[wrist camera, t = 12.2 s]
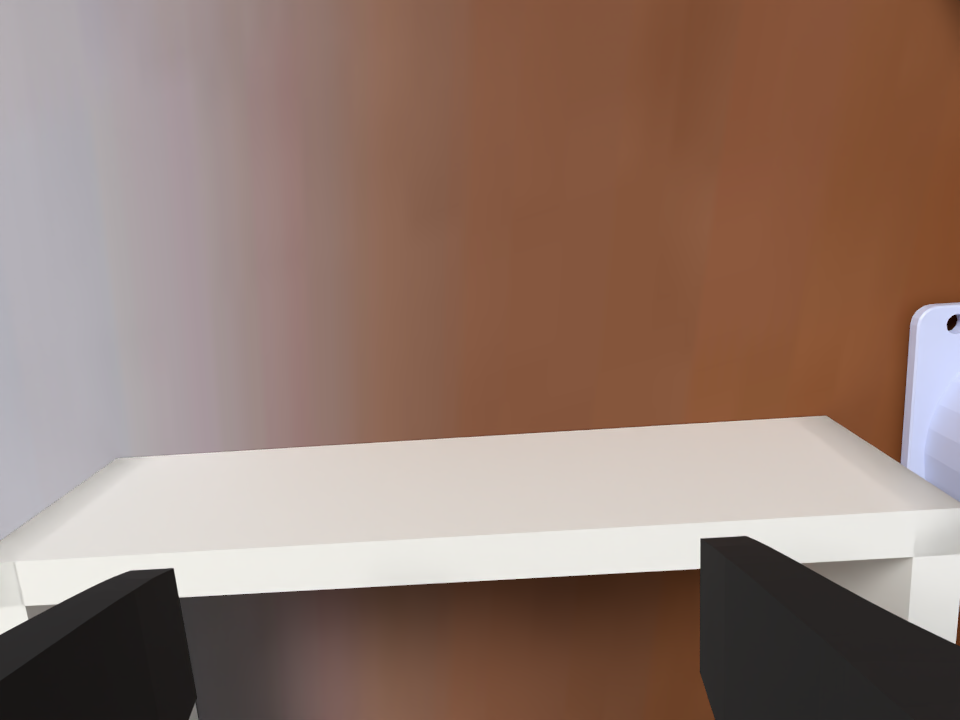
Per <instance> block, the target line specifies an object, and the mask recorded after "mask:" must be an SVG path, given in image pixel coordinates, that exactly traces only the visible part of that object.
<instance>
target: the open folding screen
mask: <svg viewBox="0 0 960 720" xmlns="http://www.w3.org/2000/svg"><path fill="white" fill-rule="evenodd" d="M735 536H748V537H750V538H752V539H755V540H757V541H759V542H761V543H763V544H765V545H767V546H769V547H771V548H773V549H775V550H777V551H779V552H780V553H782V554H784V555H786V556H788V557H790V558H791V559H793V560H795V561H797V562H799V563H800V564H802V565H804V566H806V567H808V568H809V569H811V570H813V571H815V572H817V573H818V574H820V575H822V576H824V577H826V578H827V579H829V580H831V581H833V582H835V583H836V584H838V585H840V586H842V587H844V588H846V589H847V590H849V591H851V592H853V593H855V594H857V595H859V596H860V597H862V598H864V599H866V600H868V601H870V602H872V603H874V604H875V605H877V606H879V607H881V608H883V609H885V610H887V611H889V612H891V613H893V614H895V615H897V616H899V617H901V618H903V619H905V620H907V621H908V622H911V623H913V624H915V625H917V626H919V627H921V628H923V629H925V630H927V631H929V632H931V633H933V634H935V635H938V636H940V637H942V638H944V639H946V640H948V641H950V642H952V643H954V644H956V635H957V624H958V613H959V602H960V502H959V501H957V500H956V499H954V498H953V497H951V496H950V495H948V494H946V493H945V492H943V491H942V490H940V489H939V488H937V487H936V486H934V485H933V484H931V483H929V482H928V481H926V480H925V479H923V478H922V477H920V476H919V475H917V474H916V473H914V472H912V471H911V470H909V469H908V468H906V467H905V466H903V465H902V464H900V463H899V462H897V461H895V460H894V459H892V458H891V457H889V456H888V455H886V454H885V453H883V452H881V451H880V450H878V449H877V448H875V447H874V446H872V445H871V444H869V443H868V442H866V441H864V440H863V439H861V438H860V437H858V436H857V435H855V434H854V433H852V432H851V431H849V430H847V429H846V428H844V427H843V426H841V425H840V424H838V423H837V422H835V421H834V420H832V419H830V418H829V417H827V416H813V417H796V418H780V419H763V420H746V421H730V422H713V423H696V424H680V425H663V426H647V427H630V428H613V429H597V430H580V431H563V432H547V433H530V434H514V435H497V436H480V437H464V438H447V439H430V440H414V441H397V442H380V443H364V444H347V445H331V446H314V447H297V448H281V449H264V450H247V451H231V452H214V453H198V454H181V455H164V456H148V457H131V458H116V459H115V460H114V461H112V462H111V463H109V464H108V465H106V466H105V467H104V468H102V469H101V470H99V471H98V472H97V473H95V474H94V475H92V476H91V477H89V478H88V479H87V480H85V481H84V482H82V483H81V484H80V485H78V486H77V487H75V488H74V489H73V490H71V491H70V492H68V493H67V494H65V495H64V496H63V497H61V498H60V499H58V500H57V501H56V502H54V503H53V504H51V505H50V506H48V507H47V508H46V509H44V510H43V511H41V512H40V513H39V514H37V515H36V516H34V517H33V518H31V519H30V520H29V521H27V522H26V523H24V524H23V525H22V526H20V527H19V528H17V529H16V530H14V531H13V532H12V533H10V534H9V535H7V536H6V537H5V538H3V539H2V540H0V634H2V633H4V632H6V631H8V630H10V629H12V628H14V627H15V626H17V625H19V624H21V623H23V622H25V621H27V620H29V619H31V618H32V617H34V616H36V615H38V614H40V613H42V612H44V611H46V610H48V609H50V608H51V607H53V606H55V605H57V604H59V603H61V602H63V601H65V600H67V599H69V598H71V597H73V596H75V595H76V594H78V593H80V592H82V591H84V590H86V589H88V588H90V587H93V586H95V585H97V584H99V583H101V582H103V581H105V580H107V579H110V578H112V577H114V576H117V575H120V574H122V573H125V572H128V571H130V570H148V569H166V568H174V572H175V578H176V584H177V589H178V595H179V597H197V596H216V595H234V594H252V593H270V592H288V591H306V590H324V589H343V588H361V587H379V586H397V585H415V584H433V583H451V582H469V581H488V580H506V579H524V578H542V577H560V576H578V575H596V574H614V573H633V572H651V571H669V570H687V569H700V538H717V537H735ZM189 720H198V714H197V709H196V703H195V704H194V707H193V710H192V713H191V715H190V718H189Z"/></svg>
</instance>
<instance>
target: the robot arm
mask: <svg viewBox="0 0 960 720" xmlns="http://www.w3.org/2000/svg"><path fill="white" fill-rule="evenodd" d="M952 315H956V316H957V320H958V321H957V324H956V326H955V327H954V328H953V329H952V330H949V331H948V330H947V322H948V319H949V318H950V317H951V316H952ZM901 464H902V465H903V466H905V467H906V468H908V469H909V470H911V471H912V472H914V473H916V474H917V475H919V476H920V477H922V478H923V479H925V480H926V481H928V482H929V483H931V484H933V485H934V486H936V487H937V488H939V489H940V490H942V491H943V492H945V493H946V494H948V495H950V496H951V497H953V498H954V499H956V500H957V501H959V502H960V302H959V303H943V304H930V305H926V306H923V307H921V308H920V309H918V310H917V311H916V313H915V314H914V315H913V317H912V320H911V324H910V337H909V351H908V366H907V380H906V395H905V409H904V424H903V438H902V453H901ZM700 673H701V676H702V680H703V683H704V686H705V689H706V692H707V695H708V699H709V702H710V705H711V708H712V711H713V714H714V717H715V720H960V646H958V645H956V644H954V643H952V642H950V641H948V640H946V639H944V638H942V637H940V636H938V635H935V634H933V633H931V632H929V631H927V630H925V629H923V628H921V627H919V626H917V625H915V624H913V623H911V622H908V621H907V620H905V619H903V618H901V617H899V616H897V615H895V614H893V613H891V612H889V611H887V610H885V609H883V608H881V607H879V606H877V605H875V604H874V603H872V602H870V601H868V600H866V599H864V598H862V597H860V596H859V595H857V594H855V593H853V592H851V591H849V590H847V589H846V588H844V587H842V586H840V585H838V584H836V583H835V582H833V581H831V580H829V579H827V578H826V577H824V576H822V575H820V574H818V573H817V572H815V571H813V570H811V569H809V568H808V567H806V566H804V565H802V564H800V563H799V562H797V561H795V560H793V559H791V558H790V557H788V556H786V555H784V554H782V553H780V552H779V551H777V550H775V549H773V548H771V547H769V546H767V545H765V544H763V543H761V542H759V541H757V540H755V539H752V538H750V537H748V536H735V537H717V538H700ZM196 699H197V696H196V690H195V684H194V679H193V673H192V668H191V662H190V656H189V651H188V645H187V640H186V634H185V628H184V623H183V617H182V612H181V606H180V600H179V595H178V589H177V584H176V578H175V572H174V568H166V569H148V570H130V571H128V572H125V573H122V574H120V575H117V576H114V577H112V578H110V579H107V580H105V581H103V582H101V583H99V584H97V585H95V586H93V587H90V588H88V589H86V590H84V591H82V592H80V593H78V594H76V595H75V596H73V597H71V598H69V599H67V600H65V601H63V602H61V603H59V604H57V605H55V606H53V607H51V608H50V609H48V610H46V611H44V612H42V613H40V614H38V615H36V616H34V617H32V618H31V619H29V620H27V621H25V622H23V623H21V624H19V625H17V626H15V627H14V628H12V629H10V630H8V631H6V632H4V633H2V634H0V720H189V718H190V715H191V713H192V710H193V707H194V704H195V702H196Z"/></svg>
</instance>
